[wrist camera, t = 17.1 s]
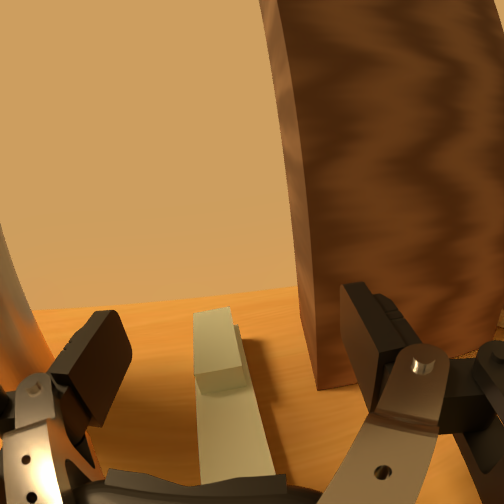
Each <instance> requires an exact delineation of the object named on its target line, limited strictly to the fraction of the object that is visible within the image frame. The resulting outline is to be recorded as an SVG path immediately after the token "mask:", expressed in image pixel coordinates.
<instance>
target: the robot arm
mask: <svg viewBox="0 0 504 504" xmlns="http://www.w3.org/2000/svg"><path fill="white" fill-rule="evenodd" d="M340 332H341V338H342V342H343V344H344V347H345V350H346V352H347V355H348V357H349V360H350V363H351V365H352V368H353V370H354V373H355V376H356V378H357V381H358V384H359V387H360V389H361V392H362V395H363V397H364V400H365V403H366V406H367V409H368V411H369V414H368V416H367V417H366V419H365V421H364V423H363V425H362V427H361V429H360V431H359V433H358V435H357V437H356V439H355V440H354V442H353V444H352V446H351V448H350V450H349V451H348V453H347V455H346V457H345V459H344V460H343V462H342V464H341V465H340V467H339V469H338V471H337V472H336V474H335V475H334V477H333V479H332V480H331V482H330V484H329V485H328V487H327V488H326V490H325V491H324V493H322V492H320V491H316V490H313V489H310V488H305V487H300V486H292V485H287V480H286V474H279V475H268V476H254V477H236V478H232V479H228V480H223V481H219V482H214V483H209V484H203V485H198V486H191V487H188V486H183V485H179V484H176V483H173V482H169V481H166V480H163V479H160V478H157V477H154V476H151V475H149V474H145V473H137V472H129V471H123V470H116V469H110V468H109V470H108V473H107V476H106V479H105V477H104V475H103V473H102V470H101V467H100V465H99V462H98V459H97V456H96V453H95V450H94V447H93V444H92V441H91V438H90V435H89V434H88V432H87V431H86V429H87V427H88V426H95V427H102V426H103V424H104V421H105V419H106V416H107V414H108V412H109V409H110V407H111V405H112V403H113V400H114V398H115V396H116V394H117V391H118V389H119V387H120V385H121V382H122V380H123V378H124V376H125V374H126V371H127V369H128V367H129V365H130V363H131V360H132V348H131V345H130V342H129V340H128V337H127V335H126V332H125V330H124V327H123V325H122V322H121V319H120V317H119V315H118V313H117V312H116V311H115V310H105V311H96V312H94V313H93V315H92V316H91V317H90V318H89V320H88V321H87V322H86V324H85V325H84V326H83V327H82V328H81V329H79V330H78V331H77V332H76V333H75V334H74V335H73V336H72V338H71V339H70V340H69V343H67V344H66V346H65V347H64V348H63V349H64V350H63V351H61V352H60V354H59V355H58V357H57V358H56V359H54V357H53V355H52V353H51V351H50V349H49V347H48V345H47V343H46V341H45V339H44V337H43V335H42V333H41V331H40V329H39V327H38V324H37V322H36V320H35V318H34V316H33V314H32V311H31V309H30V307H29V304H28V302H27V300H26V297H25V295H24V292H23V290H22V287H21V285H20V282H19V280H18V277H17V274H16V272H15V269H14V266H13V263H12V260H11V257H10V254H9V251H8V248H7V245H6V241H5V238H4V235H3V232H2V228H1V225H0V438H1V439H2V440H3V447H2V448H1V450H0V504H415V502H416V500H417V497H418V495H419V492H420V489H421V487H422V484H423V481H424V479H425V476H426V473H427V470H428V467H429V464H430V461H431V458H432V454H433V451H434V448H435V444H436V441H437V437H438V435H441V434H453V436H454V438H455V441H456V443H457V445H458V447H459V449H460V451H461V454H462V456H463V458H464V460H465V463H466V465H467V467H468V469H469V472H470V474H471V476H472V479H473V481H474V484H475V486H476V489H477V491H478V494H479V496H480V499H481V501H482V504H504V426H503V425H504V341H499V340H494V341H489V342H486V343H484V344H483V345H482V346H481V347H480V348H479V350H478V353H477V356H476V358H466V359H449V358H448V356H447V354H446V353H445V352H444V351H443V350H442V349H440V348H438V347H437V346H434V345H431V344H424V343H422V341H421V340H420V338H419V337H418V336H417V334H416V333H415V331H414V330H413V328H412V327H411V326H410V324H409V323H408V322H407V320H406V319H405V318H404V316H403V315H402V313H401V312H400V311H398V308H397V307H396V305H395V304H394V303H393V301H392V300H391V299H389V298H387V297H386V296H384V295H382V294H380V293H379V294H372V293H371V291H370V290H369V289H368V287H367V286H366V284H365V283H364V282H363V281H360V282H354V283H348V284H341V286H340ZM497 415H498V416H499V418H500V419H499V418H498V416H497ZM500 420H501V421H502V423H503V424H502V423H501V421H500Z"/></svg>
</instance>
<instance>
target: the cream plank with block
mask: <svg viewBox="0 0 504 504" xmlns="http://www.w3.org/2000/svg"><path fill="white" fill-rule="evenodd" d="M193 349H194V376H195V389H196V414H197V433H198V450H199V464H200V477H201V485H203V484H209V483H214V482H219V481H223V480H228V479H232V478H236V477H254V476H268V475H276V473H275V470H274V466H273V462H272V458H271V455H270V451H269V447H268V444H267V440H266V436H265V432H264V428H263V424H262V421H261V417H260V413H259V409H258V405H257V401H256V397H255V393H254V389H253V385H252V381H251V377H250V373H249V369H248V364H247V360H246V356H245V352H244V348H243V344H242V339H241V335H240V331H239V327H238V324H237V325H233V320H232V315H231V311H230V306H229V307H224V308H219V309H213V310H208V311H203V312H198V313H193Z"/></svg>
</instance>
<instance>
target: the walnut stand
mask: <svg viewBox="0 0 504 504" xmlns="http://www.w3.org/2000/svg"><path fill="white" fill-rule="evenodd" d="M259 3H260V8H261V13H262V19H263V24H264V30H265V35H266V41H267V47H268V52H269V59H270V65H271V71H272V76H273V84H274V90H275V97H276V103H277V109H278V117H279V123H280V131H281V139H282V146H283V154H284V161H285V169H286V177H287V185H288V194H289V203H290V212H291V221H292V229H293V239H294V249H295V261H296V271H297V282H298V294H299V306H300V318H301V322H302V326H303V330H304V335H305V339H306V343H307V347H308V351H309V356H310V360H311V364H312V369H313V373H314V377H315V382H316V386H317V390H323V389H329V388H335V387H340V386H346V385H351V384H356V383H358V381H357V378H356V376H355V373H354V370H353V368H352V365H351V363H350V360H349V357H348V355H347V352H346V350H345V347H344V344H343V342H342V338H341V332H340V286H341V284H348V283H354V282H360V281H363V282H364V283H365V284H366V286H367V287H368V289H369V290H370V291H371V293H372V294H379V293H380V294H382V295H384V296H386V297H387V298H389V299H391V300H392V301H393V303H394V304H395V305H396V307H397V308H398V311H400V312H401V313H402V315H403V316H404V318H405V319H406V320H407V322H408V323H409V324H410V326H411V327H412V328H413V330H414V331H415V333H416V334H417V336H418V337H419V338H420V340H421V341H422V343H424V344H431V345H434V346H437V347H438V348H440V349H442V350H443V351H444V352H445V353H446V354H447V356H448V358H449V359H450V358H453V357H456V356H459V355H462V354H465V353H468V352H471V351H473V350H476V349H479V348H480V347H481V346H482V345H483V344H484V343H486V342H489V341H492V340H493V337H494V334H495V331H496V327H497V324H498V321H499V317H500V313H501V310H502V306H503V302H504V32H503V29H502V25H501V21H500V18H499V15H498V12H497V9H496V6H495V3H494V0H259Z"/></svg>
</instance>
